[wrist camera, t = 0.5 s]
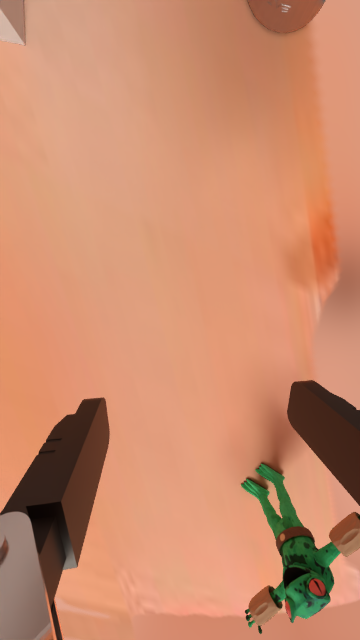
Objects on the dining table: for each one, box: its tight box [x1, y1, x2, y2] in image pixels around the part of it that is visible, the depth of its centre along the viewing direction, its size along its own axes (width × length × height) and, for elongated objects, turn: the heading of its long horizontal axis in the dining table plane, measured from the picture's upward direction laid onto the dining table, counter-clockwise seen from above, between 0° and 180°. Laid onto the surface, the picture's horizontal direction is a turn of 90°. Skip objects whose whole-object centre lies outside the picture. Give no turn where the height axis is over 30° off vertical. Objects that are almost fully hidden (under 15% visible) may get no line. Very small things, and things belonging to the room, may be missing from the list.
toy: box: [241, 464, 360, 634], centre depth 30 cm, size 26×6×15 cm, turn 147°
